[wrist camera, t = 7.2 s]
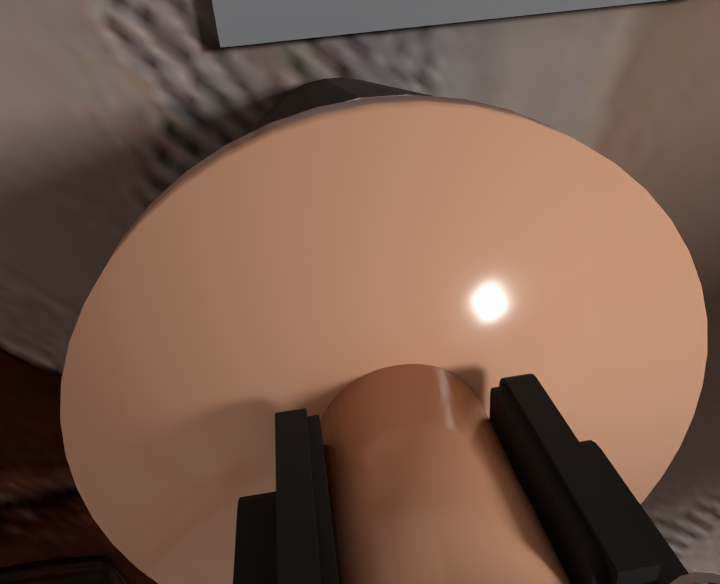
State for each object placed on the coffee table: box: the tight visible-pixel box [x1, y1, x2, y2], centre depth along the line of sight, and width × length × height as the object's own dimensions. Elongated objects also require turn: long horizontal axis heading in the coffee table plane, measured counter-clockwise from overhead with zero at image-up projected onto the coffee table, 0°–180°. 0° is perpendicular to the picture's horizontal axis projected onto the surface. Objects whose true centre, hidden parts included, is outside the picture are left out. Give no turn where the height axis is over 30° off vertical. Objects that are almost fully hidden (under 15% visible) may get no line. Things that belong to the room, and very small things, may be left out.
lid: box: [60, 95, 707, 584], centre depth 10 cm, size 12×12×6 cm
